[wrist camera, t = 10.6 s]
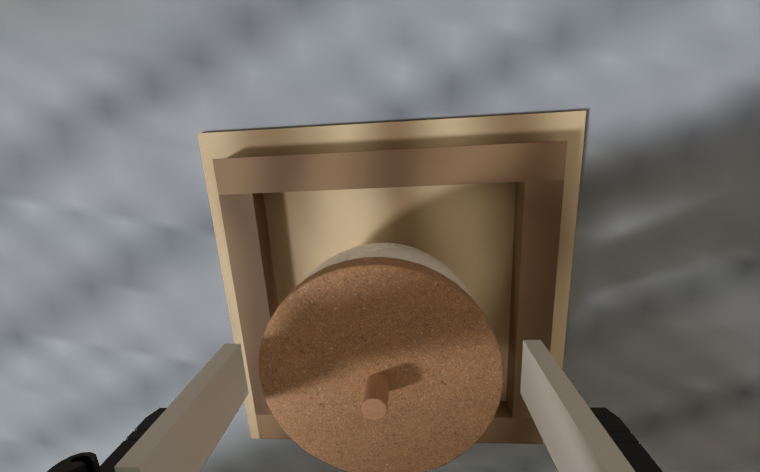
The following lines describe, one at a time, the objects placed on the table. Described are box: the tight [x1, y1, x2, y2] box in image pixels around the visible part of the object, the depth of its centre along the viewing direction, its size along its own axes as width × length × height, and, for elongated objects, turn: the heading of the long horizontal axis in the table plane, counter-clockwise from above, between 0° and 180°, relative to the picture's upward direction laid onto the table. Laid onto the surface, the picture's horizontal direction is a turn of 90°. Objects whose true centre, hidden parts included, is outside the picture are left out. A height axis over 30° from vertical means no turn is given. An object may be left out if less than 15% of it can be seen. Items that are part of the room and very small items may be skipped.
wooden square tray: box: [197, 111, 586, 444], centre depth 22 cm, size 22×22×2 cm
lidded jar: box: [259, 243, 504, 472], centre depth 18 cm, size 11×11×9 cm
